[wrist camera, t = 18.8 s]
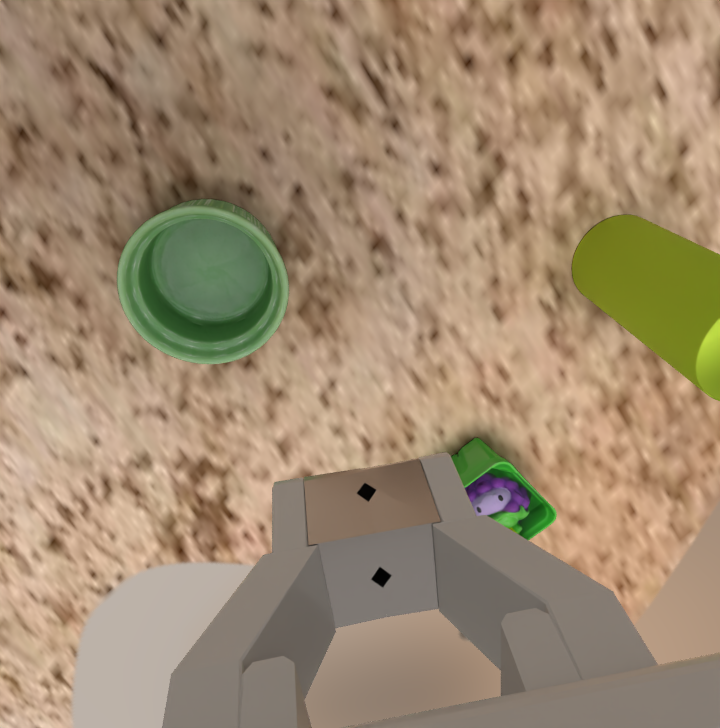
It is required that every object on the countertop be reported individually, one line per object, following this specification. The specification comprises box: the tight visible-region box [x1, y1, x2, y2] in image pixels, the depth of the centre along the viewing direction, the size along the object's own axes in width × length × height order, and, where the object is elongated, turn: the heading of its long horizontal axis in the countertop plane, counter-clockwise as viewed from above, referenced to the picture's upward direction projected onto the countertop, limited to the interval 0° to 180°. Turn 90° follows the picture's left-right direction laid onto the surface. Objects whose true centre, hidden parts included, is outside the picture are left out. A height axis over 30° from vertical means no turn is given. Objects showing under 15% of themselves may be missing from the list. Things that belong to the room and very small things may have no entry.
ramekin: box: [117, 199, 289, 364], centre depth 34 cm, size 9×9×4 cm
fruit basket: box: [451, 438, 556, 540], centre depth 42 cm, size 11×9×11 cm
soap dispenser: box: [572, 215, 720, 401], centre depth 30 cm, size 6×7×20 cm
